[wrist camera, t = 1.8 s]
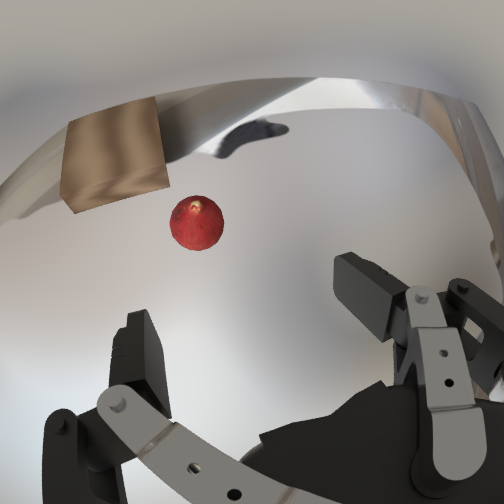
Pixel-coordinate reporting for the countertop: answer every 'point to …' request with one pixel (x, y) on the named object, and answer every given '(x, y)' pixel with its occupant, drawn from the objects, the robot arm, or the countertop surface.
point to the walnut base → (113, 156)
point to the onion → (197, 223)
